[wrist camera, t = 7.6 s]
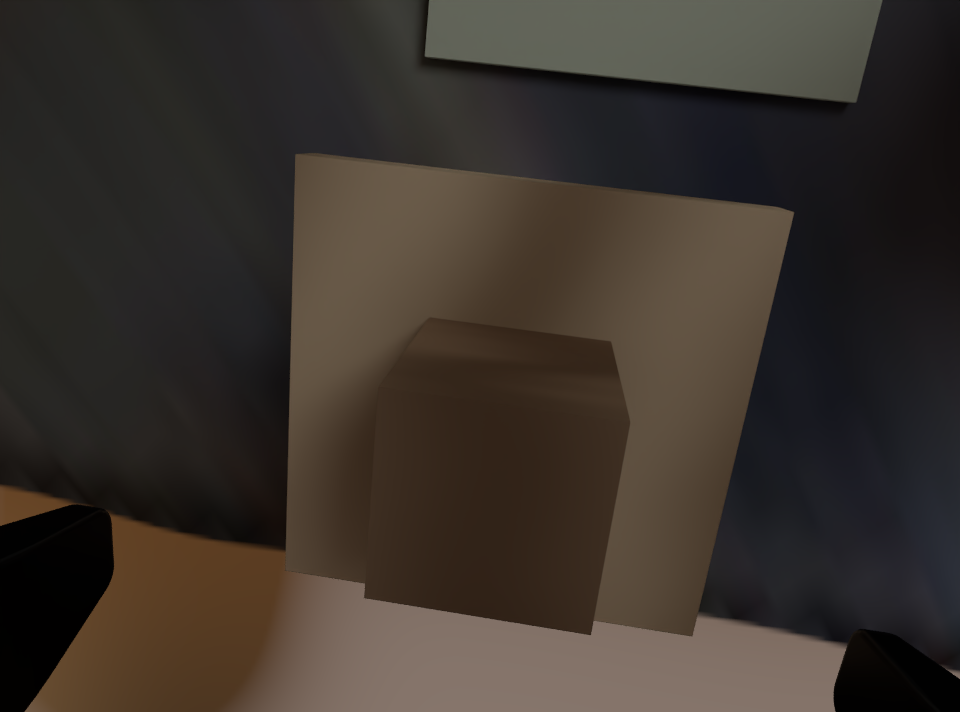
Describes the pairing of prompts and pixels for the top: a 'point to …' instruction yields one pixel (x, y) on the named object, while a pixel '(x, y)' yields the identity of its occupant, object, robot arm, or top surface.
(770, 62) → the rubber mat
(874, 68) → the top surface
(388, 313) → the wooden lid
